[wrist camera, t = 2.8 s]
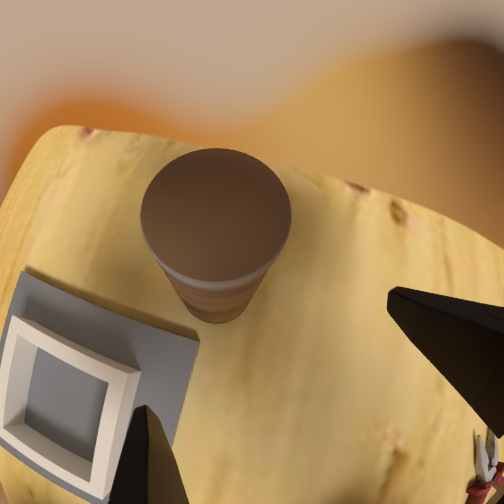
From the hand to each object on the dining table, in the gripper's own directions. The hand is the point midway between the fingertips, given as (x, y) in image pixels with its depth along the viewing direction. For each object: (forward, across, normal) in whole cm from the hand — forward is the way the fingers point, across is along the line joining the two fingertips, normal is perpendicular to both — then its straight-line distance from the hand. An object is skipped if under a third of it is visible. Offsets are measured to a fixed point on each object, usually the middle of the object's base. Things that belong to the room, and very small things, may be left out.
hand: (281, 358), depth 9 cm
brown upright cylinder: (+12, 0, +4) cm, 12 cm away
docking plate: (+9, +14, +7) cm, 18 cm away
